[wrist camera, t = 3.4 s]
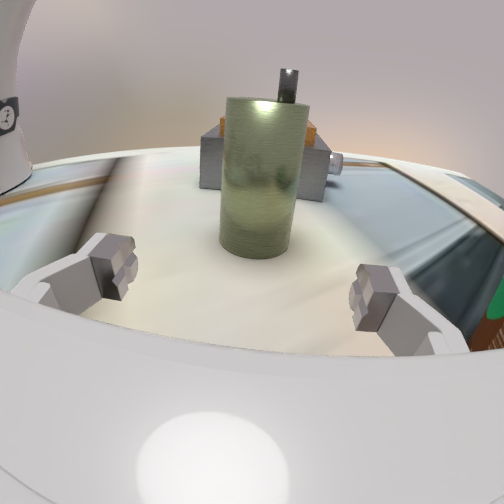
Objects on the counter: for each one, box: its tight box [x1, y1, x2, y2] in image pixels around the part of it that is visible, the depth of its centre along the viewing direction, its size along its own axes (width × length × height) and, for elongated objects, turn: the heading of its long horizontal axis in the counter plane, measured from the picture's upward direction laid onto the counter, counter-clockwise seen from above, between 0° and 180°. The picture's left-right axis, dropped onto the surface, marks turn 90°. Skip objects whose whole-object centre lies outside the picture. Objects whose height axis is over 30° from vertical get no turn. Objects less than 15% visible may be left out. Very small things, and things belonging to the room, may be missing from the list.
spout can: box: [219, 69, 310, 259], centre depth 20 cm, size 6×6×13 cm
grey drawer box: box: [200, 116, 343, 202], centre depth 35 cm, size 17×14×8 cm
